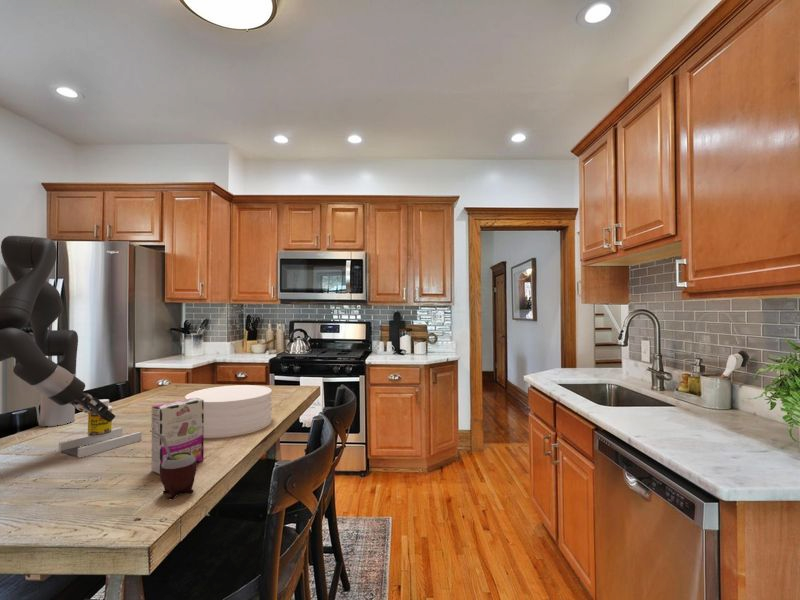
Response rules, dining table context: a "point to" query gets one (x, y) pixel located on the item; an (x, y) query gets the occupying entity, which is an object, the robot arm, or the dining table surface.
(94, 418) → the supplement bottle
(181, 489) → the mate gourd
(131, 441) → the trap channel
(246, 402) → the plate stack
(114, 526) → the dining table surface
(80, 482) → the dining table surface
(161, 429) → the candy bar box
